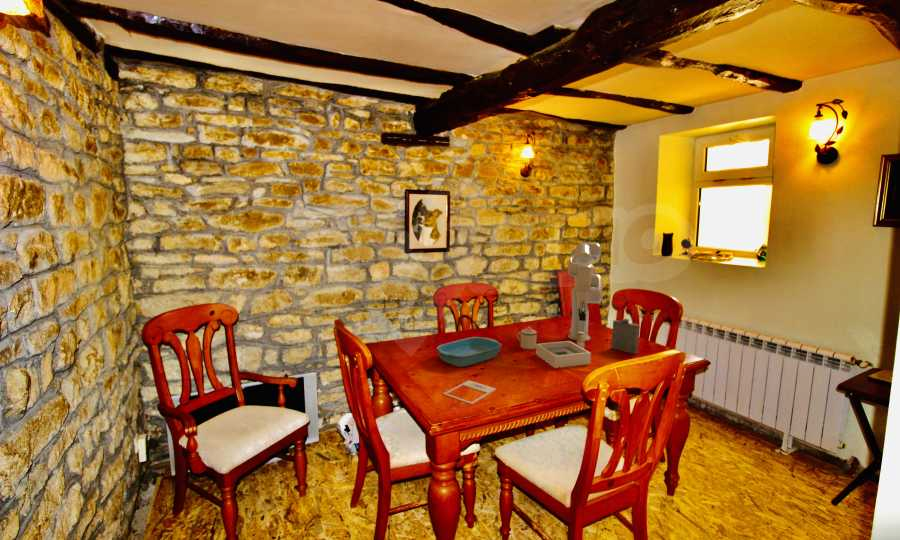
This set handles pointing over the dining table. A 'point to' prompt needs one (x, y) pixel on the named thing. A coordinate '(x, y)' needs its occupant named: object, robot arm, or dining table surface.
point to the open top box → (563, 354)
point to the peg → (580, 339)
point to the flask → (625, 336)
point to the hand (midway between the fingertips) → (581, 318)
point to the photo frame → (474, 386)
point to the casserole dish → (468, 351)
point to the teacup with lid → (528, 338)
